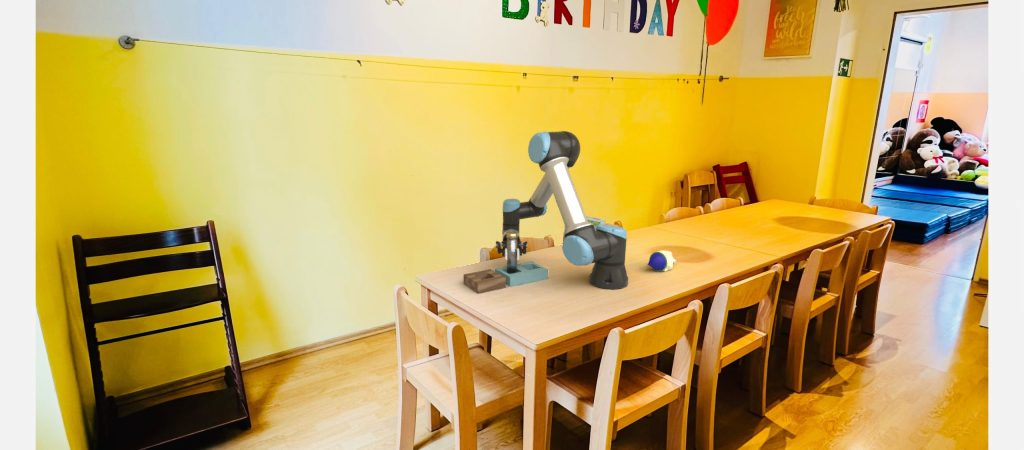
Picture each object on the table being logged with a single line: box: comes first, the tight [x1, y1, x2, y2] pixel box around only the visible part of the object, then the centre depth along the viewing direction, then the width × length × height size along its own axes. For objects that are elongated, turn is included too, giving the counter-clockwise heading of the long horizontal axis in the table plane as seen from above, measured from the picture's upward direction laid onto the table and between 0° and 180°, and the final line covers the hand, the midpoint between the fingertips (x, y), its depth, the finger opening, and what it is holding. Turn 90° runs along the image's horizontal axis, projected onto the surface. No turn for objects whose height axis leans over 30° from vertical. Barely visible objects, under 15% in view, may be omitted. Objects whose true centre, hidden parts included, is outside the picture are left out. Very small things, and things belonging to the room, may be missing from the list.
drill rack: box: [494, 261, 549, 288], centre depth 202 cm, size 12×18×4 cm, turn 122°
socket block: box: [463, 269, 507, 295], centre depth 193 cm, size 12×12×4 cm
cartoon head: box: [647, 249, 678, 273], centre depth 212 cm, size 9×10×20 cm
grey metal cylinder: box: [506, 231, 518, 274], centre depth 197 cm, size 4×4×18 cm
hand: (512, 256), depth 192 cm, fingers closed on grey metal cylinder, 4 cm apart
